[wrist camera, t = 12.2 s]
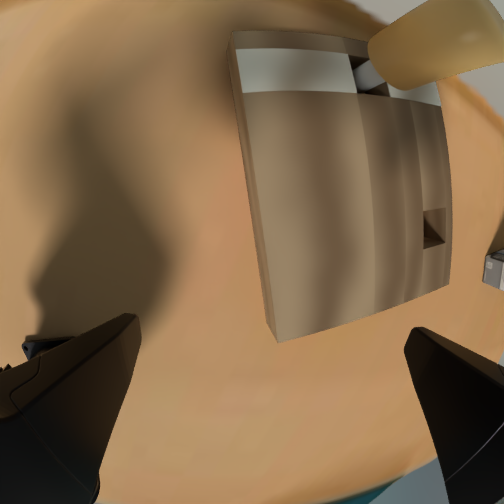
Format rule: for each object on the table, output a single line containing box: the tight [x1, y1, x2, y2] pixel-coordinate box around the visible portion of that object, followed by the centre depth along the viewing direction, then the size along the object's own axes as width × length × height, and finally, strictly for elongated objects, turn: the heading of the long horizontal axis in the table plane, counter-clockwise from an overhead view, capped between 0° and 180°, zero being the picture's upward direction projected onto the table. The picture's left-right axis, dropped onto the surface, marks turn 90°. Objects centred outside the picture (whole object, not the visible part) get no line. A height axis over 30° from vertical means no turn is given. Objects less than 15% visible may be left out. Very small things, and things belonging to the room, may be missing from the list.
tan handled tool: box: [352, 0, 504, 94], centre depth 11 cm, size 4×4×14 cm
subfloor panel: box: [226, 31, 452, 343], centre depth 18 cm, size 16×20×3 cm
